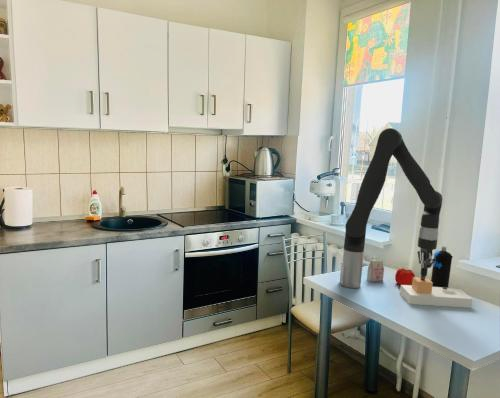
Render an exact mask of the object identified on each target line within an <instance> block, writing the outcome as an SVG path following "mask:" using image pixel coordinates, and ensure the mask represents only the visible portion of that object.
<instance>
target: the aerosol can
mask: <svg viewBox="0 0 500 398" xmlns="http://www.w3.org/2000/svg"><path fill="white" fill-rule="evenodd" d="M433 259H435V261H434V263H433V264H432V272H431V278H430V281H432V282H433V285H432V287H446V288H450V287H449V286H450V285H449V283H450V276H451V268H452V263H453V262H452V260H453V256H452V254H451V253H450V252H449V251H447V246H444V245H443V246H441V250H438V251H436V252H434V253H433Z"/></svg>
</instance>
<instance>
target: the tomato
mask: <svg viewBox="0 0 500 398" xmlns="http://www.w3.org/2000/svg"><path fill="white" fill-rule="evenodd" d="M413 277H416V275H415V273H414V272H413V270H412V269H405V268H404V267H401V268H398V269H397V270H396V272H395V277H394V281H395V282H396V284H398V285H399V286H401V285H412V282H413Z"/></svg>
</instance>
